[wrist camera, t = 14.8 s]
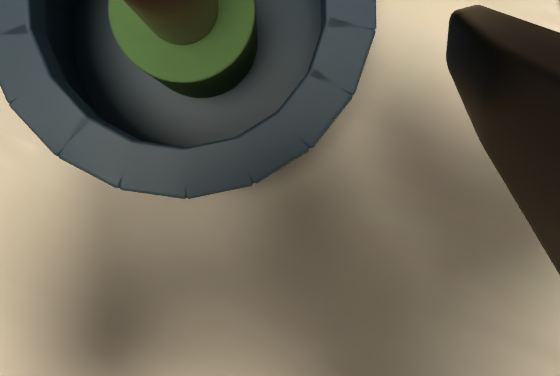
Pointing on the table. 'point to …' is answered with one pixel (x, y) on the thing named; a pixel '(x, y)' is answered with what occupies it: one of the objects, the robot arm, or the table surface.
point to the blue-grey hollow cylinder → (176, 107)
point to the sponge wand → (188, 41)
